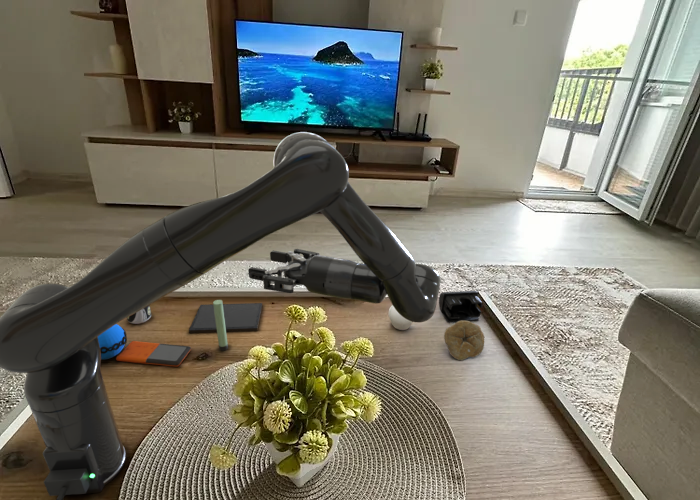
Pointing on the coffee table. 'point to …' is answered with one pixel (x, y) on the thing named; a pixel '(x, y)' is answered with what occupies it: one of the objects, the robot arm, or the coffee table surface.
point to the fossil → (464, 340)
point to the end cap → (460, 306)
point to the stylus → (220, 325)
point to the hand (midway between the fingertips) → (260, 263)
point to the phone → (154, 353)
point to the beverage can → (140, 316)
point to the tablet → (228, 318)
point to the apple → (398, 319)
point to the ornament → (112, 341)
